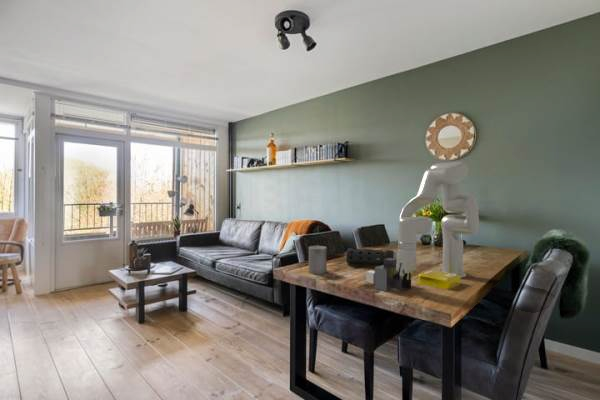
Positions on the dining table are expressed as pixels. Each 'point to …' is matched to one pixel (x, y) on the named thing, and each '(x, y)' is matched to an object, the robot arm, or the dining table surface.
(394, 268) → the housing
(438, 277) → the element tile
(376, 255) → the muzzle brake
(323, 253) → the pillar candle
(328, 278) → the dining table surface
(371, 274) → the grey and white bar
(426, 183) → the robot arm
